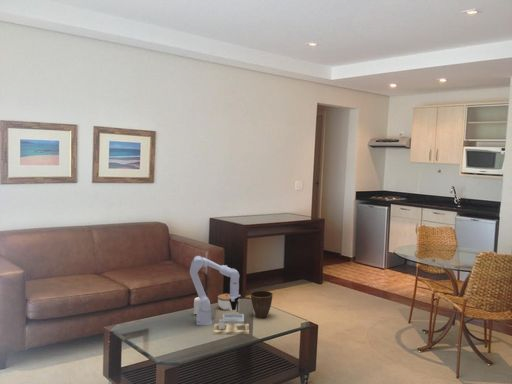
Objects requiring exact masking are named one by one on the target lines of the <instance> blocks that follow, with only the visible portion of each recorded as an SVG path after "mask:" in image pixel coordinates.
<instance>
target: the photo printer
mask: <svg viewBox="0 0 512 384" xmlns="http://www.w3.org/2000/svg"><path fill="white" fill-rule="evenodd" d="M193 300H194V301H193V315H194V314H197V310H200V308H201V302H200V299H199V296H198V297H195V298H194V299H193Z"/></svg>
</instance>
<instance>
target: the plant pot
mask: <svg viewBox="0 0 512 384" xmlns="http://www.w3.org/2000/svg"><path fill="white" fill-rule="evenodd" d="M273 296H274V295H273V292H270V291H267V290H256V291H253V292H251V293H250V301H251V304H252V310H253V312H254V315H255V317H256V318H258V319H267V318H268V315H269V313H270V310H271V306H272V300H273Z"/></svg>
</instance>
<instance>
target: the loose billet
mask: <svg viewBox="0 0 512 384" xmlns="http://www.w3.org/2000/svg"><path fill="white" fill-rule="evenodd" d="M228 312H229V313H239V312H240V301H239V300H238V301H237V304H236V309H235V310H232V307H231V303H229V310H228Z"/></svg>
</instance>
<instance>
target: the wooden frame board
mask: <svg viewBox="0 0 512 384" xmlns="http://www.w3.org/2000/svg"><path fill="white" fill-rule="evenodd" d="M237 328H245V329H237ZM212 334H213V335H250V324H249V323H244V324H225V330H219V323H214V325H213V331H212Z"/></svg>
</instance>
